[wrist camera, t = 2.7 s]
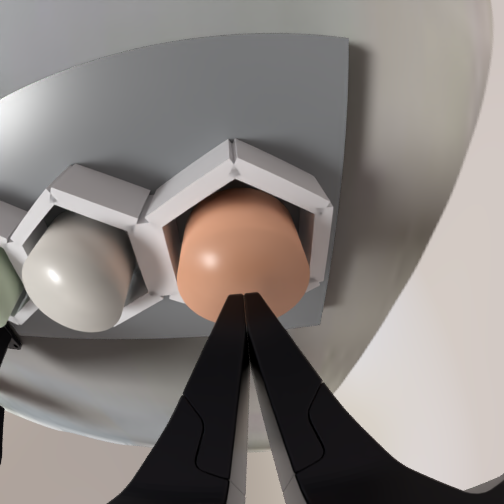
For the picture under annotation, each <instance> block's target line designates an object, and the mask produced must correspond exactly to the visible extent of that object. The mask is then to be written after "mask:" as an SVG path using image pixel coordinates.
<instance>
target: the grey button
mask: <svg viewBox="0 0 504 504" xmlns="http://www.w3.org/2000/svg"><path fill="white" fill-rule="evenodd" d="M135 266H136V256H135V253H134V250H133V247H132V244H131V241H130V238H129V236H128V235H127V234H126V232H125V231H124V230H123V229H120V228H117V227H114V226H111V225H109V224H106V223H103V222H100V221H98V220H95V219H92V218H89V217H87V216H84V215H81V214H78V213H76V212H73V211H70V210H68V211H65V212H63V213H61V214H60V215H58V216H57V217H56V218H55V219H54V221H53V222H52V223H51V225H50V226H49V227H48V229H47V230H46V231H45V233H44V234H43V236H42V237H41V238H40V240H39V241H38V243H37V244H36V245H35V247H34V248H33V250H32V251H31V253H30V254H29V256H28V257H27V259H26V260H25V262H24V265H23V268H22V280H23V284H24V287H25V289H26V292H27V294H28V295H29V297H30V298H31V300H32V301H33V303H34V304H35V305H36V306H37V307H38V308H39V309H40V310H41V311H42V312H43V313H44V314H45V315H47V316H48V317H49V318H51V319H52V320H54V321H55V322H57V323H59V324H61V325H63V326H65V327H68V328H71V329H74V330H78V331H83V332H100V331H105V330H107V329H110V328H111V327H113V326H114V325H115V324H116V323H117V322H118V321H119V319H120V317H121V315H122V311H123V307H124V304H125V300H126V297H127V293H128V290H129V286H130V283H131V280H132V276H133V273H134V270H135Z"/></svg>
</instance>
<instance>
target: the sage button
mask: <svg viewBox="0 0 504 504" xmlns="http://www.w3.org/2000/svg"><path fill="white" fill-rule="evenodd" d="M24 288H25V287H24V284H23V283H22V281H21V279H20V277H19V276H18V274H17V272H16V270H15V269H14V267H13V265H12V263H11V261H10V260H9V258H8V256H7V254H6V252H5V250H4V248H2V247H0V328H1V327H3V326H5V324H6V323H7V321H8V319H9V317H10V315H11V312H12V311H13V309H14V307H15V305H16V303H17V301H18V299H19V297H20V295H21V293H22V291H23V290H24Z"/></svg>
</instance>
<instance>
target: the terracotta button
mask: <svg viewBox="0 0 504 504" xmlns="http://www.w3.org/2000/svg"><path fill="white" fill-rule="evenodd" d="M309 280H310V269H309V264H308V261H307V258H306V255H305V252H304V250H303V247H302V244H301V241H300V239H299V236H298V233H297V230H296V228H295V225H294V222H293V219H292V217H291V215H290V213H289V211H288V210H287V208H286V207H285V206H284V205H283V204H282V203H281V202H280V201H279V200H278V199H276V198H275V197H274V196H272V195H270V194H268V193H266V192H263V191H260V190H257V189H252V188H231V189H226V190H222V191H219V192H216V193H214V194H212V195H210V196H208V197H207V198H205V199H204V200H203V201H201V202H200V203H199V204H198V205H197V206H196V207H195V208H194V209H193V211H192V212H191V214H190V215H189V217H188V219H187V222H186V225H185V230H184V236H183V242H182V247H181V253H180V260H179V266H178V272H177V286H178V291H179V293H180V296H181V297H182V299H183V301H184V302H185V303H186V305H187V306H188V307H189V308H190V309H191V310H192V311H194V312H195V313H196V314H198V315H199V316H201V317H203V318H205V319H207V320H209V321H212V322H216V320H217V318H218V316H219V314H220V312H221V309H222V307H223V305H224V303H225V301H226V299H227V297H228V295H230V294H240V293H241V294H243V296H244V294H245V293H251V292H258V293H259V294H260V295H261V296H262V298H263V299H264V300H265V302H266V303H267V305H268V306H269V307H270V309H271V310H272V312H273V313H274V314H275V316H276V317H277V318H278V317H280V316H281V315H283V314H285V313H286V312H288V311H289V310H290V309H292V308H293V307H294V306H295V305H296V304H297V303H298V302H299V301H300V300H301V298H302V297H303V295H304V294H305V292H306V290H307V287H308V285H309ZM244 306H245V304H244ZM245 316H246V314H245ZM246 326H247V325H246Z"/></svg>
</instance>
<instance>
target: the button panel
mask: <svg viewBox="0 0 504 504" xmlns="http://www.w3.org/2000/svg"><path fill="white" fill-rule="evenodd" d="M348 60H349V38H344V37H335V36H324V35H311V34H290V33H255V34H233V35H220V36H209V37H200V38H192V39H185V40H179V41H172V42H166V43H161V44H156V45H151V46H146V47H141V48H137V49H133V50H129V51H125V52H121V53H117V54H113V55H110V56H106V57H103V58H99V59H96V60H93V61H90V62H87V63H84V64H81V65H78V66H75V67H72V68H69V69H66V70H64V71H61V72H59V73H56V74H53V75H51V76H49V77H46V78H44V79H41V80H39V81H37V82H35V83H32V84H30V85H28V86H26V87H24V88H22V89H19V90H17V91H15V92H13V93H11V94H9V95H7V96H6V97H4V98H2V99H0V247H2V248H4V250H5V252H6V254H7V256H8V258H9V260H10V261H11V263H12V265H13V267H14V269H15V270H16V272H17V274H18V276H19V277H20V279H21V281H22V283H23V280H22V268H23V265H24V262H25V260H26V259H27V257H28V256H29V254H30V253H31V251H32V250H33V248H34V247H35V245H36V244H37V243H38V241H39V240H40V238H41V237H42V236H43V234H44V233H45V231H46V230H47V229H48V227H49V226H50V225H51V223H52V222H53V221H54V219H55V218H56V217H57V216H58V215H60V214H61V213H63V212H65V211H68V210H70V211H73V212H76V213H78V214H81V215H84V216H87V217H89V218H92V219H95V220H98V221H100V222H103V223H106V224H109V225H111V226H114V227H117V228H120V229H123V230H124V231H125V232H126V234H127V235H128V236H129V238H130V241H131V244H132V247H133V250H134V253H135V256H136V266H135V270H134V273H133V276H132V280H131V283H130V286H129V290H128V293H127V297H126V300H125V304H124V307H123V311H122V315H121V317H120V319H119V321H118V322H117V323H116V324H115V325H114V326H113V327H111V328H110V329H107V330H105V331H100V332H83V331H78V330H74V329H71V328H68V327H65V326H63V325H61V324H59V323H57V322H55V321H54V320H52V319H51V318H49V317H48V316H47V315H45V314H44V313H43V312H42V311H41V310H40V309H39V308H38V307H37V306H36V305H35V304H34V303H33V301H32V300H31V298H30V297H29V295H28V294H27V292H26V289H25V288H24V290H23V291H22V293H21V295H20V297H19V299H18V301H17V303H16V305H15V307H14V309H13V311H12V312H11V315H10V317H9V319H8V321H9V322H10V324H11V325H12V326H13V328H14V329H15V330H16V332H17V333H18V334H19V335H21V336H34V337H51V338H74V339H160V338H185V337H204V336H209V335H210V333H211V331H212V329H213V327H214V324H215V322H212V321H209V320H207V319H205V318H203V317H201V316H199V315H198V314H196V313H195V312H194V311H192V310H191V309H190V308H189V307H188V306H187V305H186V303H185V302H184V301H183V299H182V297H181V296H180V293H179V291H178V286H177V272H178V266H179V260H180V253H181V247H182V242H183V236H184V230H185V225H186V222H187V219H188V217H189V215H190V214H191V212H192V211H193V209H194V208H195V207H196V206H197V205H198V204H199V203H200V202H201V201H203V200H204V199H205V198H207V197H208V196H210V195H212V194H214V193H216V192H219V191H222V190H226V189H231V188H252V189H257V190H260V191H263V192H266V193H268V194H270V195H272V196H274V197H275V198H276V199H278V200H279V201H280V202H281V203H282V204H283V205H284V206H285V207H286V208H287V210H288V211H289V213H290V215H291V217H292V219H293V222H294V225H295V228H296V230H297V233H298V236H299V239H300V241H301V244H302V247H303V250H304V252H305V255H306V258H307V261H308V264H309V269H310V280H309V285H308V287H307V290H306V292H305V294H304V295H303V297H302V298H301V300H300V301H299V302H298V303H297V304H296V305H295V306H294V307H293V308H292V309H290V310H289V311H288V312H286V313H285V314H283V315H281V316H280V317H278V318H277V319H278V320H279V321H280V323H281V324H282V325H283V327H284V328H285V329H292V328H300V327H308V326H316V325H320V322H321V317H322V312H323V306H324V301H325V295H326V290H327V284H328V278H329V272H330V266H331V259H332V253H333V246H334V239H335V232H336V224H337V217H338V208H339V200H340V191H341V181H342V171H343V160H344V148H345V135H346V119H347V98H348ZM246 327H247V326H246Z"/></svg>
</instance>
